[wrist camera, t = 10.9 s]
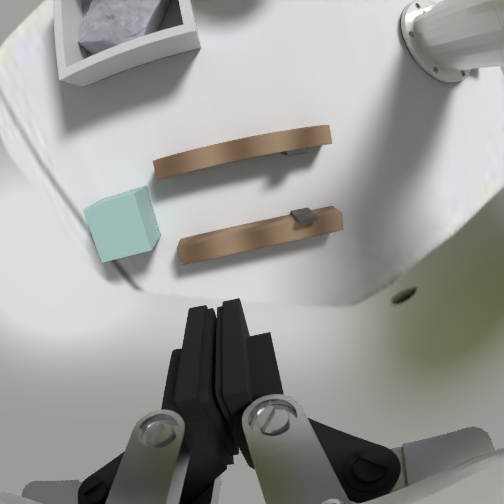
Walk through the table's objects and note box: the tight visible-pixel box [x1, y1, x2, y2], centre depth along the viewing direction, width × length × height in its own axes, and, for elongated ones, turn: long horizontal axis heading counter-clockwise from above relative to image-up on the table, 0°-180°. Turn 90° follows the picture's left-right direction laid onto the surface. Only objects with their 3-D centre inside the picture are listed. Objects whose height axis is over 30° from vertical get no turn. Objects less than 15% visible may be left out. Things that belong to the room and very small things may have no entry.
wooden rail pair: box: [153, 125, 343, 265], centre depth 31 cm, size 18×12×4 cm, turn 102°
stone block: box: [78, 0, 170, 54], centre depth 22 cm, size 12×5×10 cm
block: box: [84, 185, 161, 263], centre depth 31 cm, size 6×6×5 cm
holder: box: [54, 0, 201, 87], centre depth 21 cm, size 14×16×6 cm
